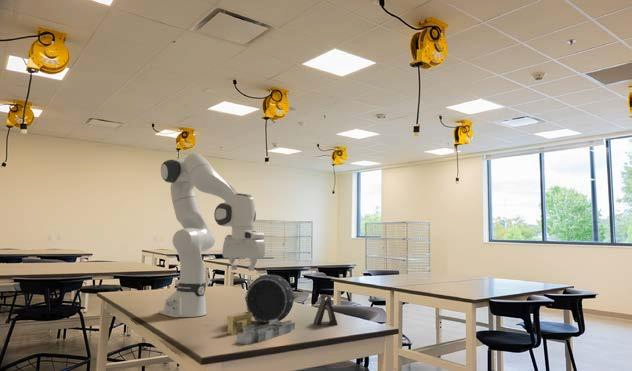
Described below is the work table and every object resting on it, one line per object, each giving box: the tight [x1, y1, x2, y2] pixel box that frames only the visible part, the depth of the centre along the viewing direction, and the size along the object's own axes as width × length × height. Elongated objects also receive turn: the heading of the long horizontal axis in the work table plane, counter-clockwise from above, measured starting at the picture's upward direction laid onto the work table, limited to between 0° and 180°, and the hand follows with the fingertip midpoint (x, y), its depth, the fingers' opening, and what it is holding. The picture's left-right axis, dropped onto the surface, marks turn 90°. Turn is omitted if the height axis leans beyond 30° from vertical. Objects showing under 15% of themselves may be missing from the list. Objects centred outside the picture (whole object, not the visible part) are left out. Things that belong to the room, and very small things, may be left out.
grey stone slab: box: [236, 318, 296, 346], centre depth 156 cm, size 30×7×4 cm, turn 149°
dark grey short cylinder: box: [244, 274, 295, 325], centre depth 179 cm, size 11×20×20 cm, turn 78°
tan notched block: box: [226, 311, 253, 336], centre depth 161 cm, size 11×3×6 cm, turn 149°
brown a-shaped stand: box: [313, 293, 338, 326], centre depth 180 cm, size 9×6×12 cm, turn 103°
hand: (242, 270), depth 164 cm, fingers open, 8 cm apart
